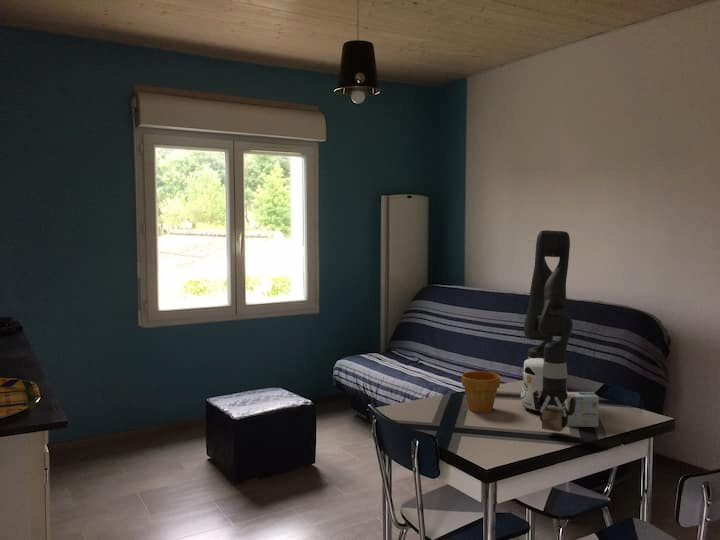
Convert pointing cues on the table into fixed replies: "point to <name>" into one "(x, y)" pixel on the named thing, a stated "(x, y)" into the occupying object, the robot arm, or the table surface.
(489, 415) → the table surface
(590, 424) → the light bulb box
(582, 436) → the table surface
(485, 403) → the flower pot
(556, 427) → the walnut block
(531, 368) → the milk container
